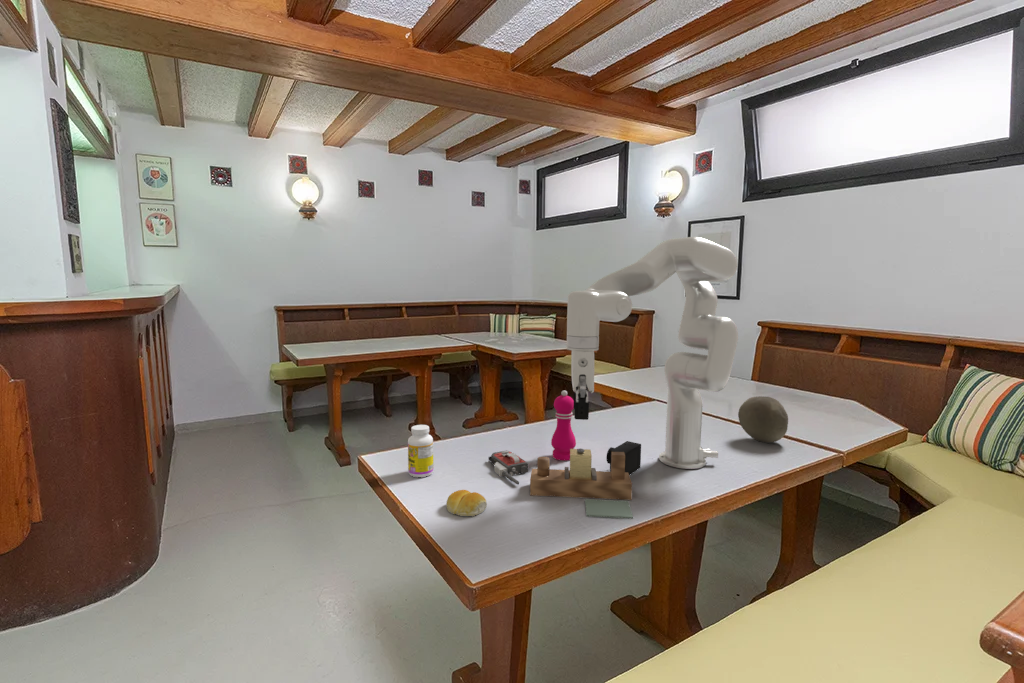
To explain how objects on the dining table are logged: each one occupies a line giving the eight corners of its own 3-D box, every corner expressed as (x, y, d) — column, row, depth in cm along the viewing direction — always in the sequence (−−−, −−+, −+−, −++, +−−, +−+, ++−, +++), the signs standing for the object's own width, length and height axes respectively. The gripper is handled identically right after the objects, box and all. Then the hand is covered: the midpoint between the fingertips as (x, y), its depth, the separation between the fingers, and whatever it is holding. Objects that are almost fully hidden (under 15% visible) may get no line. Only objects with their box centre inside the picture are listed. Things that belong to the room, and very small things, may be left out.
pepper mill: (574, 462, 140) (575, 393, 138) (549, 460, 142) (550, 392, 139) (576, 453, 147) (577, 388, 145) (552, 452, 149) (553, 387, 146)
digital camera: (622, 463, 140) (623, 439, 139) (640, 467, 136) (641, 443, 136) (605, 474, 131) (606, 449, 131) (624, 479, 128) (625, 453, 127)
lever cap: (590, 472, 122) (590, 447, 121) (591, 479, 117) (591, 453, 117) (569, 472, 122) (570, 446, 122) (570, 478, 118) (570, 452, 117)
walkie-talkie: (481, 463, 140) (514, 489, 122) (481, 448, 140) (514, 472, 122) (508, 458, 144) (544, 483, 126) (508, 444, 144) (544, 466, 126)
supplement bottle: (406, 471, 133) (405, 425, 132) (430, 467, 136) (429, 422, 134) (411, 480, 127) (410, 431, 126) (436, 476, 130) (435, 429, 128)
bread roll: (461, 498, 117) (461, 482, 116) (491, 507, 112) (491, 490, 112) (438, 511, 110) (437, 494, 110) (469, 522, 105) (469, 504, 105)
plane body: (627, 487, 123) (628, 449, 121) (631, 500, 116) (633, 459, 114) (531, 483, 125) (532, 445, 124) (530, 495, 118) (530, 455, 117)
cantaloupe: (761, 433, 168) (764, 390, 166) (797, 446, 154) (800, 400, 153) (728, 437, 163) (730, 393, 161) (761, 451, 150) (764, 403, 148)
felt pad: (628, 502, 114) (628, 500, 114) (633, 518, 106) (633, 517, 106) (584, 500, 115) (584, 498, 115) (586, 516, 107) (586, 514, 107)
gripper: (601, 348, 107) (599, 424, 109) (596, 339, 124) (594, 405, 126) (566, 347, 108) (565, 423, 110) (566, 339, 125) (564, 404, 127)
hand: (580, 413), depth 118 cm, fingers open, 9 cm apart
